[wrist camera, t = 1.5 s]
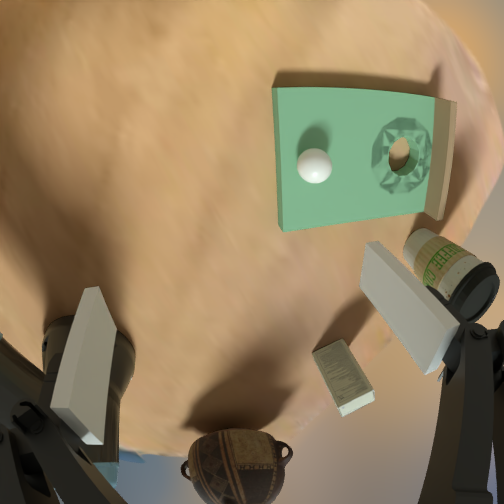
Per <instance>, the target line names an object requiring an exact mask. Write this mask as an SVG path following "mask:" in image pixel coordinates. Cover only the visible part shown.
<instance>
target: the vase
mask: <svg viewBox="0 0 504 504" xmlns="http://www.w3.org/2000/svg"><path fill="white" fill-rule="evenodd" d="M284 447H287V448H288V451H289V452H288V455H287V456H285V457H282V449H283V448H284ZM292 456H293V451H292V449H291V448H290V447H289V446H288V445H287V444H286V443H284V442H282V441H276V440H275V439H274V437H273V436H271V435H270V434H268V433H265V432H262V431H257V430H251V429H244V428H230V429H224V430H219V431H216V432H212V433H210V434H207V435H205V436H203V437H201V438H199V439H197V440H196V441H195V442H194V443H193V444H192V446H191V447H190V450H189V454H188V460H187V461H185V462H184V463H183V464H182V466H181V473H182V475H183V476H184V477H185V478H187V479H188V480H190V481H192V483H193V486H194V488H195V490H196V491H197V493H198V494H199V496H200V497H201V498H202V499H203V501H204V502H205V503H207V504H271V503H272V502H273V501H274V500H275V499H276V497H277V496H278V494H279V493H280V491H281V489H282V486H283V483H284V477H285V469H284V468H285V466H286V464H287V463H288V462H289V461H290V459H291V458H292ZM187 467H188V468H189V472H190V476H187V474H186V471H185V470H186V468H187Z"/></svg>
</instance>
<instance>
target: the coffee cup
mask: <svg viewBox="0 0 504 504" xmlns="http://www.w3.org/2000/svg"><path fill="white" fill-rule="evenodd" d="M403 256H404V259H405V260H406V261H407V262H408V264H409V265H410V266H411V267H412V269H413V270H414V272H415V274H416V276H417V277H418V278H419V280H420V281H421V282H422V284H423V285H424V286H427V285H429V286H431V287H433V288H435V289H436V290H438V291H439V292H440V293H441V294H442V295H443V296H444V298H445V299H447V300H448V301H449V302H450V304H452V306H453V307H454V308H455V309H456V310H457V311H458V312H459V313H460V314H461V315H462V316H463V317H464V318H465V319H466V320H467V322H468V323H469V324H470V323H475V322H476V321H477V320H479V319H480V318H481V317H482V316H483V315H484V313H485V312H486V311H487V310H488V308H489V307H490V306H491V303H493V301H494V299H495V297H496V294H497V292H498V289H499V285H500V280H499V277H498V276H497V274H496V270H495V268H494V267H493V265H492V264H491V263H489V262H482V261H481V260H479V259H478V258H477V257H476V256H475V255H473V254H472V253H470V252H468V251H467V250H465V249H463V248H461V247H460V246H458V245H456V244H455V243H453V242H451V241H449V240H448V239H446V238H444V237H442V236H439V235H437V234H435V233H434V232H432V231H430V230H428V229H426V228H421V229H418V230H416V231H415V232H413V233H412V234H411V235H410V236H409V238H408V239H407V241H406V243H405V245H404V249H403Z"/></svg>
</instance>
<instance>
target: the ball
mask: <svg viewBox="0 0 504 504" xmlns="http://www.w3.org/2000/svg"><path fill="white" fill-rule="evenodd" d="M297 170H298V173H299V175H300V176H301V177H302V178H303V179H304V180H305V181H307V182H309V183H321V182H323V181H325V180H326V179H327V178H328V177H329V176H330V174H331V171H332V161H331V159H330V157H329V155H328V154H327V153H326V152H324V151H323V150H321V149H317V148H311V149H308V150H305V151H304V152H303V153H302V154H301V155H300V156H299V158H298V160H297Z"/></svg>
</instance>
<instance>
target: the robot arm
mask: <svg viewBox="0 0 504 504" xmlns="http://www.w3.org/2000/svg"><path fill="white" fill-rule="evenodd" d="M359 287H360V288H361V290H362V291H363V292H364V293H365V295H366V296H367V297H368V299H369V300H370V301H371V303H372V304H373V305H374V306H375V308H376V309H377V310H378V312H379V313H380V314H381V316H382V317H383V318H384V320H385V321H386V322H387V324H388V325H389V326H390V328H391V329H392V330H393V332H394V333H395V335H396V336H397V337H398V339H399V340H400V341H401V342H402V344H403V346H404V347H405V348H406V350H407V351H408V352H409V354H410V355H411V357H412V358H413V359H414V361H415V362H416V364H417V365H418V367H419V368H420V369H421V371H422V372H423V374H424V375H426V374H428V373H430V372H432V371H434V370H436V369H438V367H439V365H440V363H441V361H442V360H443V362H444V363H445V364H446V365H445V367H444V369H443V371H442V372H441V374H440V376H439V378H438V380H437V381H440V380H441V378H442V377H443V381H442V390H441V398H440V406H439V413H438V420H437V426H436V431H435V437H434V442H433V447H432V452H431V456H430V461H429V465H428V469H427V473H426V477H425V480H424V484H423V488H422V491H421V495H420V498H419V501H418V504H493V496H492V494H491V493H490V492H488V491H487V482H488V475H489V469H490V460H491V451H492V440H493V448H494V456H495V466H496V479H497V502H498V504H504V366H503V365H504V320H503V321H502V322H501V323H500V325H499V327H498V329H491V330H487V329H486V328H485V327H484V326H482V325H480V324H478V323H470V324H469V323H468V322H467V320H466V319H465V318H464V317H463V316H462V315H461V314H460V313H459V312H458V311H457V310H456V309H455V308H454V307H453V306H452V304H450V302H449V301H448V300H447V299H445V298H444V296H443V295H442V294H441V293H440V292H439V291H438V290H436V289H435V288H433V287H431V286H429V285H427V286H424V285H423V284H422V283H421V282H420V281H419V280H418V279H417V278H416V277H415V276H414V275H413V274H412V273H411V272H410V271H409V270H408V269H407V268H406V267H405V266H404V265H403V264H402V263H401V262H400V261H399V260H398V259H397V258H396V257H395V256H394V255H393V254H392V253H391V252H389V251H388V250H387V249H386V248H385V247H384V246H383V245H382V244H381V243H380V242H379V241H375V242H369V243H366V246H365V253H364V259H363V266H362V272H361V278H360V284H359ZM42 360H43V372H42V371H41V370H40V369H38V368H37V367H36V366H35V365H34V364H32V363H31V362H30V361H29V360H28V359H26V358H25V357H24V356H23V355H22V354H21V353H19V352H18V351H17V350H16V349H15V348H14V347H13V346H12V345H11V344H9V343H8V342H7V341H6V340H5V339H4V338H3V334H2V333H1V332H0V504H60V502H59V500H58V497H57V495H56V492H57V493H58V495H59V496H60V498H61V499H62V501H63V502H64V504H128V503H127V502H126V501H125V500H124V499H123V498H122V497H121V496H120V495H119V494H118V493H117V491H116V490H115V487H116V485H117V473H118V467H119V415H120V400H121V398H122V396H123V394H124V392H125V390H126V388H127V386H128V384H129V382H130V380H131V379H132V377H133V374H134V369H135V352H134V350H133V347H132V345H131V344H130V342H129V341H128V340H127V338H126V337H125V336H124V335H123V334H122V333H120V332H119V331H118V330H117V328H116V326H115V324H114V321H113V319H112V317H111V315H110V312H109V310H108V307H107V305H106V303H105V300H104V298H103V295H102V293H101V290H100V288H99V286H97V287H90V288H85V289H84V292H83V295H82V297H81V300H80V303H79V306H78V309H77V312H76V315H75V316H66V317H62V318H59V319H57V320H55V321H54V322H52V323H51V324H50V325H49V327H48V329H47V331H46V333H45V336H44V339H43V343H42ZM55 490H56V492H55Z"/></svg>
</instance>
